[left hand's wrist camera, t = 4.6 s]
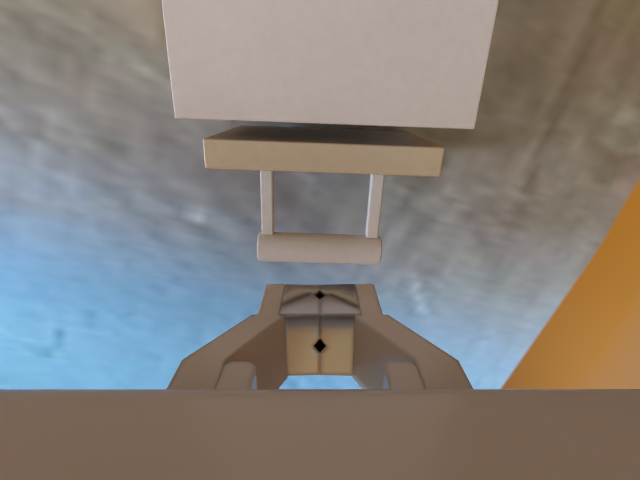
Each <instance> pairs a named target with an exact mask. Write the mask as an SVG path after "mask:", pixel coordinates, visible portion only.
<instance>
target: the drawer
mask: <svg viewBox="0 0 640 480" xmlns="http://www.w3.org/2000/svg"><path fill="white" fill-rule="evenodd" d="M203 148H204V160H205V167H206V168H207V169H230V170H259V171H260V185H261V221H262V232H260V233H259V235H258V240H257V257H258V260H259V261H273V262H304V263H335V264H366V265H379V264H380V261H381V255H382V242H381V237H380V236H378V231H379V221H380V212H381V202H382V192H383V183H384V175H400V176H429V177H439V176H440V174H441V168H442V162H443V156H444V150H445V149H444V147H441V146H439V145H436V144H434V143H432V142H429V141H427V140H424V139H422V138H419V137H417V136H414V135H412V134H410V133H407V132H405V131H379V130H352V129H325V128H298V127H270V126H243V125H241V126H238V127H235V128H233V129H230V130H227V131H224V132H221V133H219V134H216V135H213V136H210V137H207V138H205V139H203ZM274 171H287V172H315V173H344V174H371V176H370V187H369V199H368V210H367V221H366V232H365V234H366V235H342V234H311V233H281V232H274Z"/></svg>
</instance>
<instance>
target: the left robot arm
mask: <svg viewBox="0 0 640 480" xmlns="http://www.w3.org/2000/svg"><path fill="white" fill-rule="evenodd" d="M290 375H350V376H353V378H354V379H355V381H356V382H357V383H358V384H359V385H360V387H361V388H362V389H278V388H279V387H280V386H281V385H282V383H283V382H284V381H285V380H286V378H287V376H290ZM0 480H640V389H473V388H472V386H471V384H470V382H469V380H468V378H467V376H466V374H465V373H464V371H463V369H462V367H461V365H460V363H459V361H458V360H457V359H455V358H453V357H452V356H450V355H449V354H447V353H446V352H444V351H443V350H441V349H440V348H438V347H436V346H435V345H433V344H432V343H430V342H429V341H427V340H426V339H424V338H423V337H421V336H420V335H418V334H416V333H415V332H413V331H412V330H410V329H409V328H407V327H406V326H404V325H403V324H401V323H400V322H398V321H396V320H395V319H393V318H392V317H390V316H389V315H383V314H382V311H381V307H380V304H379V300H378V297H377V294H376V290H375V287H374V285H373V284H339V285H302V284H267V285H266V287H265V290H264V293H263V297H262V300H261V304H260V307H259V310H258V314H257V315H251V316H250V317H248V318H247V319H245V320H244V321H242V322H240V323H239V324H237V325H236V326H234V327H233V328H231V329H230V330H228V331H226V332H225V333H223V334H222V335H220V336H219V337H217V338H216V339H214V340H213V341H211V342H209V343H208V344H206V345H205V346H203V347H202V348H200V349H199V350H197V351H196V352H194V353H192V354H191V355H189V356H188V357H186V358H185V359H183V360H182V361H181V363H180V365H179V367H178V369H177V371H176V373H175V375H174V376H173V378H172V380H171V382H170V384H169V386H168V388H167V389H0Z"/></svg>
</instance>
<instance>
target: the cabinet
mask: <svg viewBox="0 0 640 480" xmlns="http://www.w3.org/2000/svg"><path fill="white" fill-rule="evenodd" d="M498 3H499V0H162V7H163V16H164V24H165V33H166V42H167V51H168V60H169V69H170V78H171V87H172V96H173V105H174V114H175V118H182V119H209V120H236V121H263V122H290V123H317V124H344V125H372V126H399V127H426V128H453V129H474V128H475V123H476V118H477V113H478V108H479V102H480V97H481V92H482V87H483V81H484V76H485V71H486V66H487V60H488V55H489V50H490V45H491V39H492V34H493V29H494V24H495V18H496V13H497V8H498Z"/></svg>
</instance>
